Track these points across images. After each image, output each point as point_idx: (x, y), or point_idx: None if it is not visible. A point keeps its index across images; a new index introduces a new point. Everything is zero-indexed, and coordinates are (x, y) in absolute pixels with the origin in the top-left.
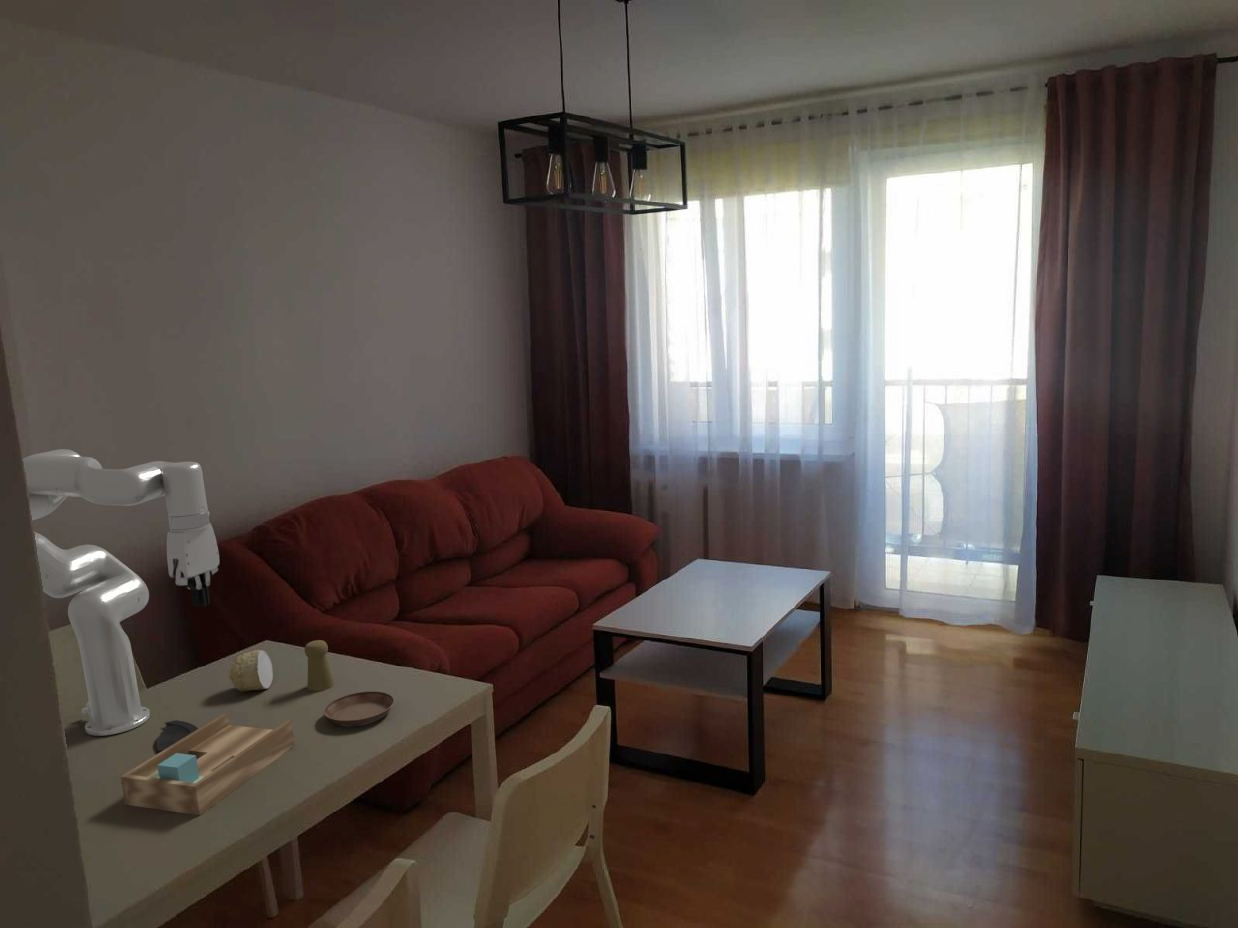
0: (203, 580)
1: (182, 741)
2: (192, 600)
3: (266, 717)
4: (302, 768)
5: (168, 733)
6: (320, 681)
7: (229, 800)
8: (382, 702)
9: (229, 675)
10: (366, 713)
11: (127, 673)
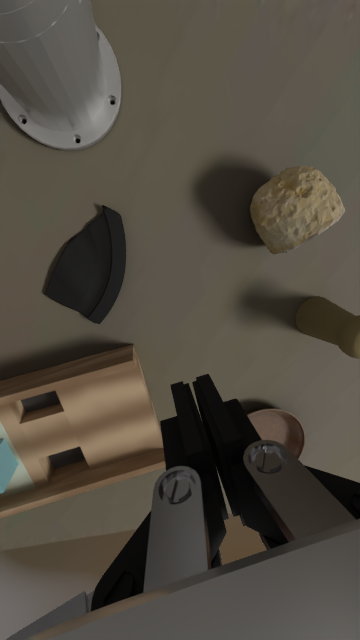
0: (280, 532)
1: (35, 395)
2: (161, 427)
3: (204, 336)
4: (130, 489)
5: (90, 244)
6: (310, 334)
7: None
8: (291, 440)
9: (254, 200)
10: None
11: (45, 75)
